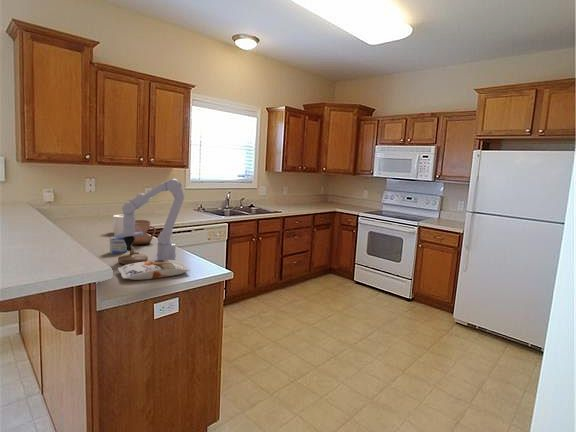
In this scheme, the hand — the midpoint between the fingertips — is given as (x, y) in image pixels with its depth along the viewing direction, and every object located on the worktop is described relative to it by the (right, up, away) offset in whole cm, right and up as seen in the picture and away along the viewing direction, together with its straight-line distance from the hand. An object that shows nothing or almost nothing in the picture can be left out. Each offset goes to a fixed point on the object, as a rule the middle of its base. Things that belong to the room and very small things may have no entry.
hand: (128, 250), depth 186 cm
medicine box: (-12, -3, +13) cm, 18 cm away
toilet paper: (-32, +6, +60) cm, 69 cm away
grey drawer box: (+2, -4, +5) cm, 7 cm away
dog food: (+20, -10, -17) cm, 28 cm away
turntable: (+4, -5, -4) cm, 7 cm away
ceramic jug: (-9, +1, +35) cm, 36 cm away
